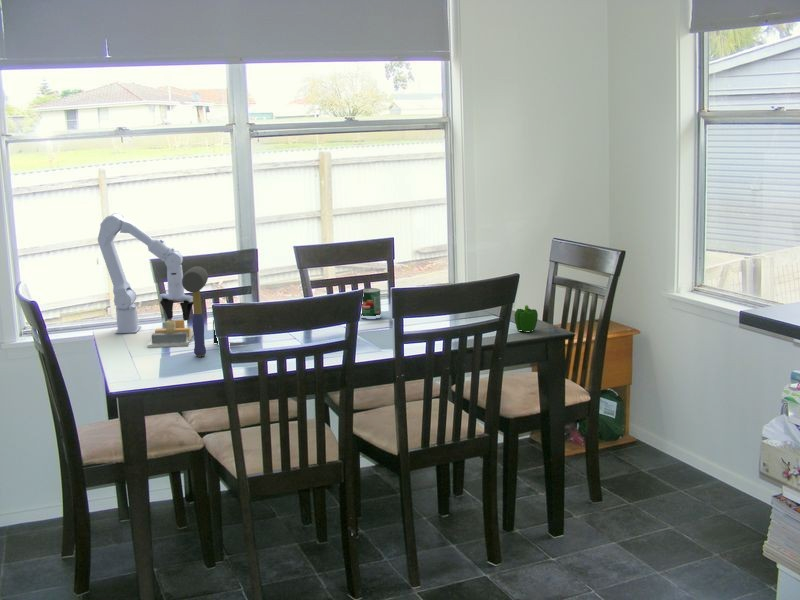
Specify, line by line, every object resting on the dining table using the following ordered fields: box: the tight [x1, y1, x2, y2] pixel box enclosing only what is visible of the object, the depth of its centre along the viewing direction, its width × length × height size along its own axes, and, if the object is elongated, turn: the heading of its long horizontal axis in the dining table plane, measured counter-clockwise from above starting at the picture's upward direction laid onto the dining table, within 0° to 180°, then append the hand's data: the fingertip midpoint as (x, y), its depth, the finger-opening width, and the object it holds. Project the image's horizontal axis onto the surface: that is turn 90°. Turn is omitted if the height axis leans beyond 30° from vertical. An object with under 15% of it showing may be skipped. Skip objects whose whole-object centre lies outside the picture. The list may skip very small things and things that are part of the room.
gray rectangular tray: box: [147, 327, 194, 349], centre depth 335 cm, size 24×14×4 cm, turn 5°
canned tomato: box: [360, 287, 382, 317], centre depth 361 cm, size 8×8×11 cm
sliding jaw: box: [154, 319, 191, 336], centre depth 339 cm, size 10×12×4 cm
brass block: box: [164, 319, 176, 333], centre depth 331 cm, size 4×3×6 cm
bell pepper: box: [514, 304, 539, 332], centre depth 333 cm, size 8×8×10 cm
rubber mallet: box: [182, 265, 209, 358], centre depth 307 cm, size 12×8×30 cm, turn 3°
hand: (178, 319), depth 349 cm, fingers open, 7 cm apart
